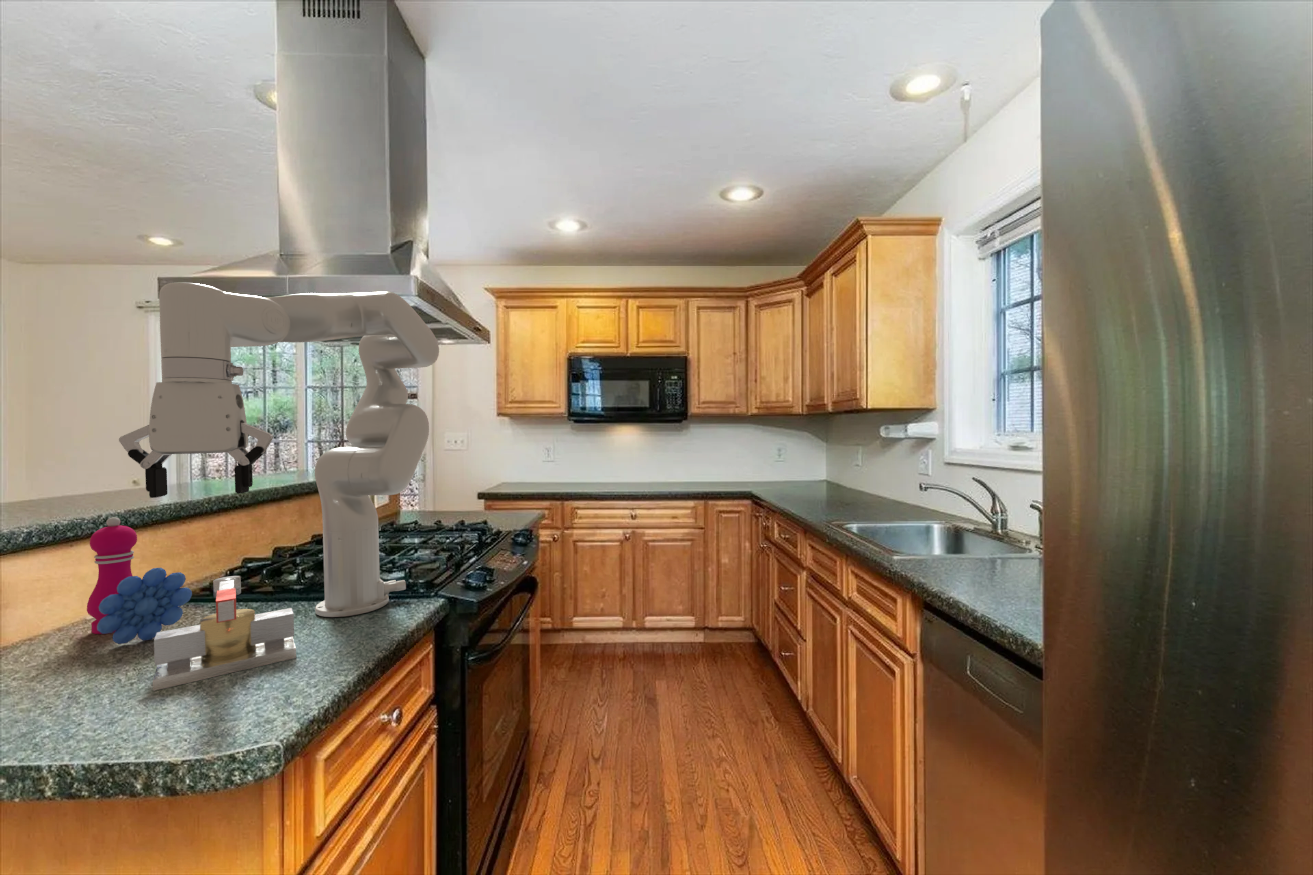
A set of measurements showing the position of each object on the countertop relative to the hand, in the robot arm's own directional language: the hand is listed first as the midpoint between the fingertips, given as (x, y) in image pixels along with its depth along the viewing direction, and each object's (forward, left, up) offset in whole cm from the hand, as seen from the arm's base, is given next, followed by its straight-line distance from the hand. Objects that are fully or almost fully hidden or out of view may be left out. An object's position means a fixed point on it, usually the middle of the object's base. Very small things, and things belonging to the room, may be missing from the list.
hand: (201, 494), depth 76 cm
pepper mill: (+14, -36, -26) cm, 47 cm away
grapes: (+9, -25, -26) cm, 37 cm away
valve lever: (-3, +3, -16) cm, 16 cm away
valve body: (-2, -3, -26) cm, 26 cm away
